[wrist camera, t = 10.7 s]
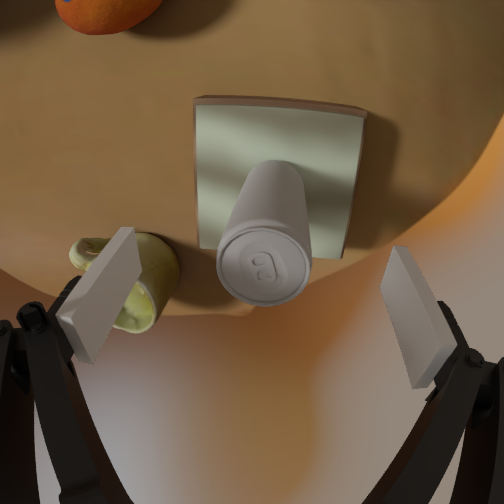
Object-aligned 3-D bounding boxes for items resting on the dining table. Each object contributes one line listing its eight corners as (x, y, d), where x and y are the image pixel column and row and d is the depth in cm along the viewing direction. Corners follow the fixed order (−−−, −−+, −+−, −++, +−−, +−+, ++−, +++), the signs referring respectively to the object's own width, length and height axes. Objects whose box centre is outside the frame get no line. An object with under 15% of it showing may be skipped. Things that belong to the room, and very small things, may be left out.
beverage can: (254, 218, 27) (231, 314, 17) (237, 165, 25) (198, 237, 14) (309, 206, 26) (321, 300, 16) (296, 151, 23) (301, 215, 13)
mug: (211, 279, 35) (155, 338, 27) (165, 297, 41) (116, 345, 34) (148, 188, 32) (76, 230, 25) (112, 223, 39) (55, 262, 31)
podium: (204, 95, 26) (189, 99, 22) (356, 106, 25) (370, 112, 21) (206, 227, 34) (195, 252, 29) (336, 238, 33) (343, 264, 29)
